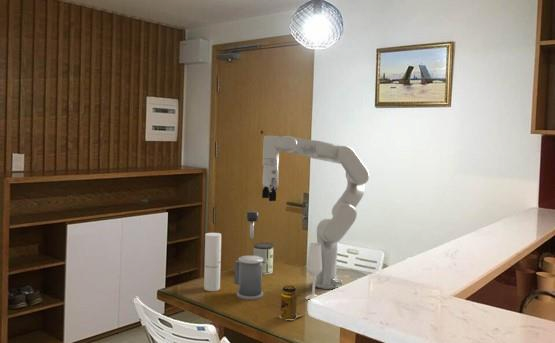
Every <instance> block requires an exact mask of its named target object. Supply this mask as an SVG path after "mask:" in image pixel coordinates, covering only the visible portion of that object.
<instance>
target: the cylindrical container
mask: <svg viewBox="0 0 555 343" xmlns="http://www.w3.org/2000/svg"><path fill="white" fill-rule="evenodd" d="M221 256H222V233H220V232H207V233H205V239H204V276H203V278H204V279H203V282H204V283H203V289H204V290H205V291H208V292H215V291H219V290H221V260H222V257H221Z"/></svg>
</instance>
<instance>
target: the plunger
mask: <svg viewBox="0 0 555 343" xmlns="http://www.w3.org/2000/svg"><path fill="white" fill-rule="evenodd" d="M246 221H247V222H249V223H250V225H249V238H250V239H255V238H254V237H255V235H254V232H255V222H258V221H259V211H255V210H253V211H252V210H251V211H249V210H248V211H246Z"/></svg>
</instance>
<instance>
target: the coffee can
mask: <svg viewBox="0 0 555 343" xmlns="http://www.w3.org/2000/svg"><path fill="white" fill-rule="evenodd" d="M253 256H259V257H262V258H263V262H262V275H270V274H272V273H273V272H274V271H273V268H274V244H273V243H270V242H269V243H268V242H256V243H253Z"/></svg>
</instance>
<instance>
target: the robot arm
mask: <svg viewBox="0 0 555 343" xmlns="http://www.w3.org/2000/svg"><path fill="white" fill-rule="evenodd" d="M262 144H263V145H262V146H263V147H262V163H261V165H262V166H263V168H262V180H261V182H262V191H261V192H262V194H261V198H262V199H268V201H269V202H276V200H277V191H278V190H277V189H278V188H279V166H280V152H283V153H284V152H285V153H291V154H295V155H296V154H297V155H299V156H300V155H301V156H305V157H308V158H310V159H314V160H320V161H325V162H330V163H334V164H339V165H341V166H342V168H343V170H345V178H346V180H347V182H346V183H347V184H346V185H347V186H346V189H345V190H344V192H343V193H342V194H341V196H340V197H339V198H338V200H337V201H336V203H335V204H334V205H333V206H332V209H331V215H332V217H331V219H330V218H324V219H322V220H320V221H319V223H318V225H317V226H316V227H317V228H316V243H319V244H321V256H322V271H321V273H320V274H319V275H317V276H316V277H315V288H318V289H325V290H332V289H337V288H338V287H339V286H343V285H344V280H343V279H339V276H338V275H337V265H338V264H337V263H338V262H337V261H338V259H337V258H338V242H340V241H341V240H342V239H343V238H344V237H345V235H346V234H347V233H348V231H349V230H350V229H351V228H352V226H353V224H354V223H355V221H356V219H357V209H356V208H357V206H358V204H359V203H360V202H361V201H362V198H363V197H364V195H365V194H364V193H365V189H366V188H365V187H366V186H365V184H366V183H367V182H368V181H369V179H370V172H369V170H368V168H367V167H366V166H365V164H364V162H362V160H361V159H360V157H359V156H358V155H357V153H356V152H355V150H354V149H353V148H352V147H350V146H346V145H340V144H336V143H330V142H325V141H320V140H316V139H315V140H309V139H304V138H299V137H295V136H291V135H283V136H277V135H264V137H263V143H262ZM311 284H313V281H312V282H311Z"/></svg>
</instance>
